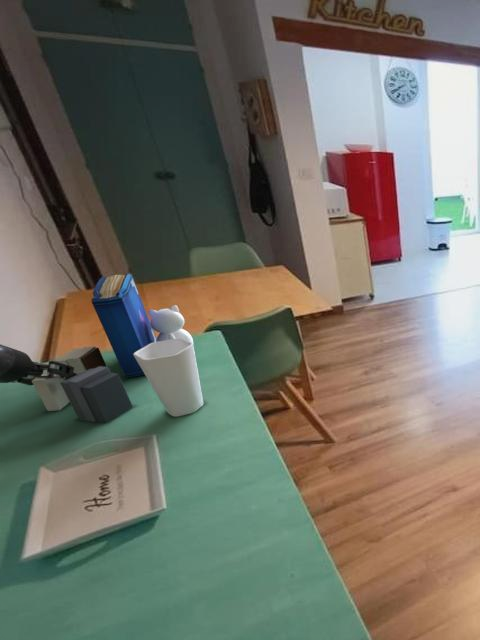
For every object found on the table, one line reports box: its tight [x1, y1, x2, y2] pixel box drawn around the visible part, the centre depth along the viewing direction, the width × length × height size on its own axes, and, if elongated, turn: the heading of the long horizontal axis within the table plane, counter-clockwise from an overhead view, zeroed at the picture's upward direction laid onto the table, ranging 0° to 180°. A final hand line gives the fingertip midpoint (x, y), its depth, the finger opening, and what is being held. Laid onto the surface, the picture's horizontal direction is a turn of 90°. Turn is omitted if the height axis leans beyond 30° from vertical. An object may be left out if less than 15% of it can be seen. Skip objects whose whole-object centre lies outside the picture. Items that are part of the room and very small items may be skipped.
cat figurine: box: [148, 304, 194, 344], centre depth 128 cm, size 9×12×15 cm
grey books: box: [61, 366, 134, 424], centre depth 101 cm, size 8×7×11 cm
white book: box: [32, 370, 70, 412], centre depth 104 cm, size 2×7×9 cm, turn 13°
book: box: [90, 272, 157, 378], centre depth 120 cm, size 22×7×25 cm, turn 34°
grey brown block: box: [54, 346, 108, 374], centre depth 113 cm, size 6×7×9 cm
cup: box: [133, 338, 204, 417], centre depth 102 cm, size 11×10×17 cm
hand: (54, 379), depth 104 cm, fingers open, 8 cm apart
